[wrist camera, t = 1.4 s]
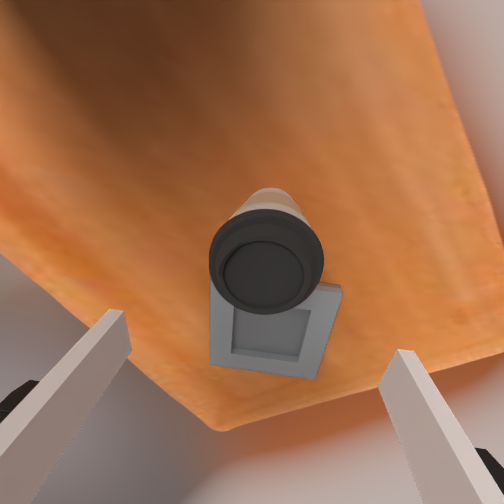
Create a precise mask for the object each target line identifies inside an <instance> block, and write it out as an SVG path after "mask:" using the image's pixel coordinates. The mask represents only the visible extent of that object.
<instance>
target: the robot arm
mask: <svg viewBox="0 0 504 504" xmlns="http://www.w3.org/2000/svg"><path fill="white" fill-rule="evenodd" d="M131 351H132V348H131V343H130V338H129V333H128V328H127V323H126V318H125V313H124V311H121V310H114V309H108V310H107V311H106V312H105V314H104V315H103V316H102V317H101V318H100V319H99V320H98V321H97V322H96V323H95V324H94V325H93V326H92V327H91V328H90V329H89V330H88V332H87V333H86V334H85V335H84V336H83V337H82V338H81V339H80V340H79V341H78V342H77V343H76V344H75V345H74V346H73V347H72V348H71V349H70V351H69V352H68V353H67V354H66V355H65V356H64V357H63V358H62V359H61V360H60V361H59V362H58V363H57V364H56V365H55V366H54V367H53V369H52V370H51V371H50V372H49V373H48V374H47V375H46V376H45V377H44V378H43V379H42V380H41V381H34V380H29V381H28V382H26V383H25V384H23V385H22V386H20V387H19V388H17V389H16V390H14V391H13V392H11V393H10V394H9V395H8V396H7V397H6V398H5V399H4V400H3V401H2V402H1V403H0V504H30V503H31V502H32V500H33V499H34V497H35V496H36V494H37V493H38V491H39V489H40V488H41V487H42V485H43V484H44V482H45V481H46V479H47V478H48V476H49V475H50V473H51V472H52V470H53V468H54V467H55V465H56V464H57V462H58V461H59V460H60V458H61V456H62V455H63V453H64V452H65V450H66V449H67V447H68V446H69V444H70V443H71V441H72V440H73V438H74V437H75V435H76V434H77V432H78V431H79V429H80V428H81V426H82V425H83V423H84V422H85V420H86V419H87V417H88V416H89V414H90V412H91V411H92V410H93V408H94V407H95V405H96V404H97V402H98V401H99V399H100V398H101V396H102V394H103V393H104V392H105V390H106V389H107V387H108V386H109V384H110V383H111V381H112V379H113V378H114V377H115V375H116V373H117V372H118V370H119V369H120V367H121V366H122V364H123V363H124V361H125V360H126V358H127V357H128V355H129V354H130V352H131ZM378 388H379V391H380V394H381V396H382V399H383V401H384V404H385V406H386V409H387V411H388V414H389V416H390V419H391V421H392V424H393V426H394V429H395V432H396V434H397V437H398V439H399V442H400V444H401V447H402V449H403V452H404V454H405V457H406V459H407V462H408V465H409V467H410V469H411V472H412V475H413V477H414V480H415V482H416V485H417V487H418V490H419V492H420V495H421V498H422V500H423V503H424V504H504V468H503V467H502V466H501V465H500V464H499V463H498V462H497V461H496V460H495V458H493V456H492V455H491V454H490V453H489V452H488V451H487V450H486V449H480V448H474V447H473V445H472V444H471V442H470V441H469V439H468V437H467V436H466V434H465V433H464V431H463V429H462V428H461V426H460V424H459V423H458V421H457V420H456V418H455V416H454V415H453V413H452V411H451V410H450V408H449V407H448V405H447V404H446V402H445V400H444V399H443V397H442V396H441V394H440V392H439V391H438V389H437V388H436V386H435V384H434V383H433V381H432V379H431V378H430V376H429V375H428V373H427V371H426V370H425V368H424V366H423V365H422V363H421V362H420V360H419V358H418V357H417V355H416V354H415V352H414V351H409V350H402V349H397V350H396V352H395V354H394V356H393V358H392V360H391V361H390V363H389V365H388V367H387V369H386V371H385V373H384V375H383V377H382V378H381V380H380V382H379V384H378Z"/></svg>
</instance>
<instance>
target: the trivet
mask: <svg viewBox="0 0 504 504" xmlns="http://www.w3.org/2000/svg"><path fill="white" fill-rule="evenodd" d="M342 295H343V292H342V290H341V287H340V285H336V284H328V283H320V282H319V283H318V285H317V287H316V288H315V290H314V291H313V292H312V294H311V295H310V296H309V297H308V298H307V299H306V300H305V301H303V302H302V303H301V304H299V305H298V306H296V307H294V308H292V309H290V310H287V311H284V312H281V313H277V314H271V315H258V314H253V313H249V312H245V311H243V310H240V309H238V308H236V307H234V306H233V305H231V304H230V303H228V302H227V301H226V300H225V299H224V298H223V297H222V296H221V295H220V294H219V293H218V291H217V290H216V288H215V286H214V284H213V282H212V280H211V277H210V365H215V366H222V367H229V368H236V369H243V370H250V371H257V372H264V373H271V374H278V375H285V376H292V377H299V378H306V379H313V380H315V379H316V376H317V372H318V369H319V366H320V363H321V360H322V357H323V354H324V351H325V348H326V345H327V342H328V338H329V335H330V332H331V329H332V326H333V323H334V320H335V317H336V314H337V311H338V308H339V304H340V301H341V298H342Z"/></svg>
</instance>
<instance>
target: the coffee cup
mask: <svg viewBox="0 0 504 504" xmlns="http://www.w3.org/2000/svg"><path fill="white" fill-rule="evenodd" d="M323 266H324V255H323V249H322V246H321V243H320V241H319V239H318V237H317V236H316V234H315V233H314V231H313V230H312V228H311V226H310V225H309V223H308V221H307V219H306V218H305V216H304V214H303V213H302V211H301V209H300V208H299V206H298V205H297V204H296V203H295V201H294V200H293V199H292V197H291V196H290V195H289V194H288V193H286V192H285V191H283V190H281V189H278V188H272V187H270V188H263V189H260V190H258V191H256V192H255V193H253V194H252V195H251V196H250V197H249V198H248V199H247V200H246V201H245V202H244V203H243V204H242V205H241V206H240V207H239V208H238V209H237V211H236V212H235V213H234V214H233V215H232V216H231V217H230V218H229V219H228V221H227V222H226V223H225V224H224V225H223V226H222V227H221V228H220V229H219V230H218V232H217V233H216V235H215V236H214V238H213V241H212V243H211V247H210V251H209V271H210V276H211V280H212V282H213V284H214V286H215V288H216V290H217V291H218V293H219V294H220V295H221V296H222V297H223V298H224V299H225V300H226V301H227V302H228V303H230V304H231V305H233V306H234V307H236V308H238V309H240V310H243V311H245V312H249V313H253V314H258V315H271V314H277V313H281V312H284V311H287V310H290V309H292V308H294V307H296V306H298V305H299V304H301V303H302V302H303V301H305V300H306V299H307V298H308V297H309V296H310V295H311V294H312V292H313V291H314V290H315V288H316V287H317V285H318V283H319V280H320V278H321V274H322V271H323Z"/></svg>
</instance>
